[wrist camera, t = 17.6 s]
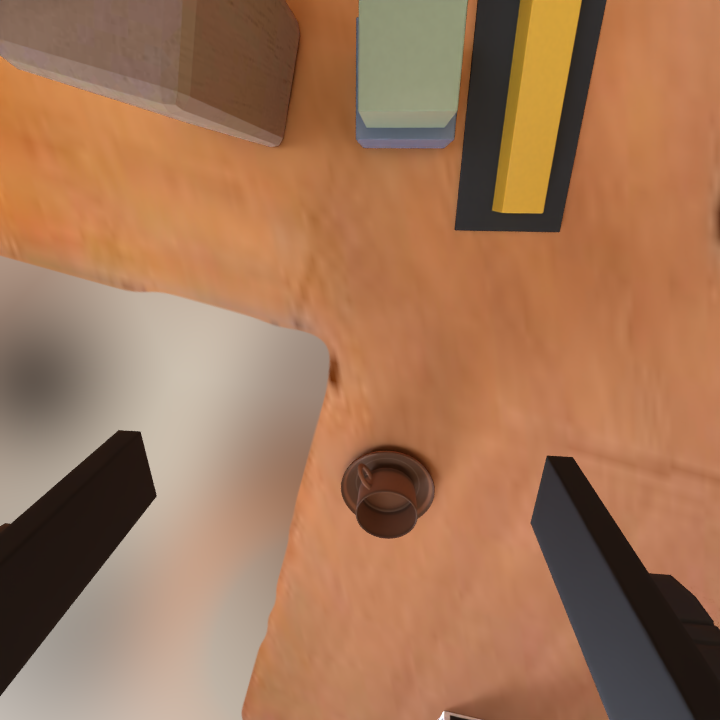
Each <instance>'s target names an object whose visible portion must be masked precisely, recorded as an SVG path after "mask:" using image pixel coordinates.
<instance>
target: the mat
mask: <svg viewBox="0 0 720 720" xmlns="http://www.w3.org/2000/svg"><path fill="white" fill-rule="evenodd" d="M605 5H606V0H582V2H581V8H580V13H579V19H578V24H577V30H576V35H575V41H574V46H573V52H572V57H571V63H570V68H569V74H568V79H567V85H566V90H565V95H564V101H563V106H562V112H561V117H560V123H559V128H558V134H557V139H556V145H555V150H554V156H553V161H552V167H551V172H550V178H549V183H548V189H547V194H546V200H545V205H544V210H543V213H501V212H497V211H493V210H492V207H493V200H494V193H495V185H496V178H497V170H498V163H499V155H500V148H501V140H502V133H503V125H504V118H505V110H506V103H507V95H508V88H509V81H510V73H511V66H512V58H513V51H514V43H515V36H516V28H517V21H518V13H519V6H520V0H478V4H477V14H476V24H475V34H474V44H473V54H472V64H471V74H470V84H469V94H468V104H467V114H466V123H465V133H464V143H463V153H462V163H461V173H460V183H459V193H458V203H457V213H456V223H455V230H470V231H525V232H560V227H561V222H562V218H563V213H564V208H565V203H566V198H567V193H568V188H569V183H570V178H571V173H572V168H573V163H574V158H575V153H576V148H577V143H578V138H579V133H580V128H581V124H582V119H583V114H584V109H585V104H586V99H587V94H588V89H589V84H590V79H591V74H592V69H593V64H594V59H595V54H596V49H597V44H598V39H599V34H600V29H601V25H602V20H603V15H604V10H605Z"/></svg>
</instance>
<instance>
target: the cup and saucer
mask: <svg viewBox="0 0 720 720" xmlns="http://www.w3.org/2000/svg"><path fill="white" fill-rule="evenodd" d="M341 492H342V497H343V499H344V501H345V503H346V505H347V506H348V508H349V509H350V510H351V511H352V512H353V513H354V514H355V515H356V518H357V521H358V523H359V525H360V526H361V527H362V528H363V529H364V530H365V531H366V532H367V533H369V534H371V535H373V536H376V537H379V538H387V539H390V538H397V537H401V536H403V535H405V534H407V533H409V532H410V531H411V530H412V529H413V528H414V526H415V524H416V522H417V519H418V518H419V517H421V516H422V515H423V514H424V513H425V512H426V511H427V510H428V509H429V507H430V506H431V504H432V501H433V498H434V484H433V480H432V478H431V476H430V474H429V472H428V471H427V469H426V468H425V467H424V466H423V465H422V464H421V463H420V462H419V461H417V460H416V459H414V458H413V457H410V456H408V455H406V454H403V453H400V452H395V451H377V452H372V453H368V454H366V455H363V456H361V457H360V458H358V459H356V460H355V461H354V462H353V463H352V464H351V465H350V466H349V467H348V468H347V470H346V472H345V474H344V476H343V478H342V482H341Z"/></svg>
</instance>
